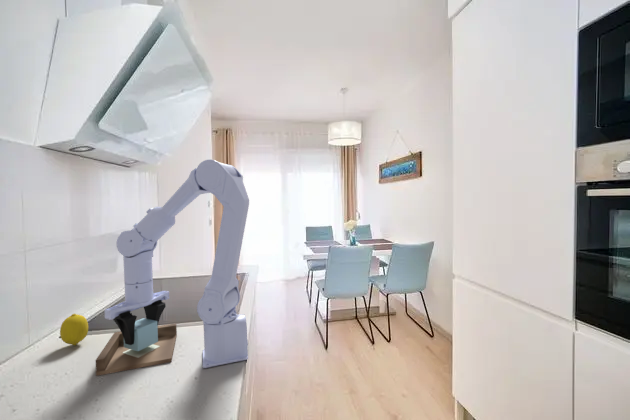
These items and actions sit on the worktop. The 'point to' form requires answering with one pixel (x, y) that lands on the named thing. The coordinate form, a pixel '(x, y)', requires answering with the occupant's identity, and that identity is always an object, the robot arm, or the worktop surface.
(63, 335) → the lemon
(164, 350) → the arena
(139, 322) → the cube
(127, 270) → the robot arm
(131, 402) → the worktop surface
